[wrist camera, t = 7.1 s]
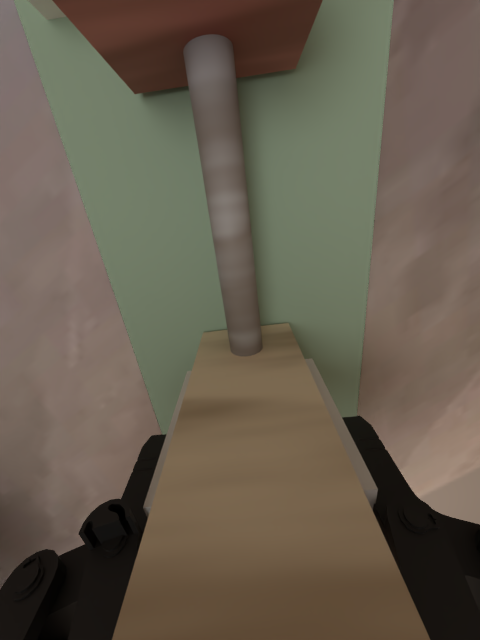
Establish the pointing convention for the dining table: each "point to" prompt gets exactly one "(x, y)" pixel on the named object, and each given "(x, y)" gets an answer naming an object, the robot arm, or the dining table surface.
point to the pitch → (262, 187)
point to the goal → (47, 9)
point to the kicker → (244, 385)
